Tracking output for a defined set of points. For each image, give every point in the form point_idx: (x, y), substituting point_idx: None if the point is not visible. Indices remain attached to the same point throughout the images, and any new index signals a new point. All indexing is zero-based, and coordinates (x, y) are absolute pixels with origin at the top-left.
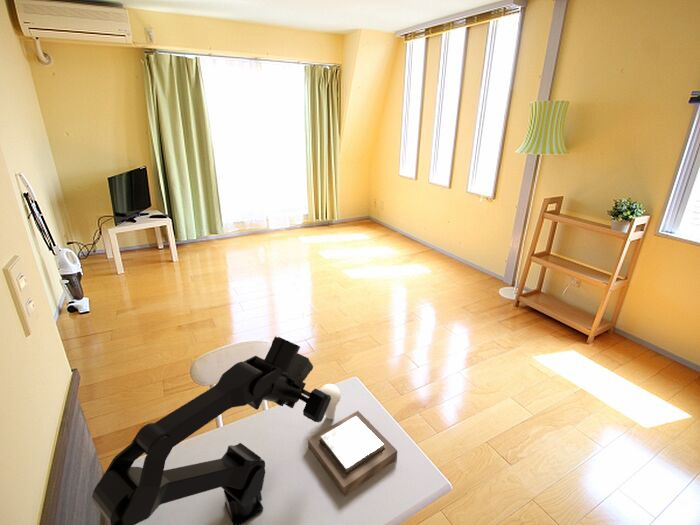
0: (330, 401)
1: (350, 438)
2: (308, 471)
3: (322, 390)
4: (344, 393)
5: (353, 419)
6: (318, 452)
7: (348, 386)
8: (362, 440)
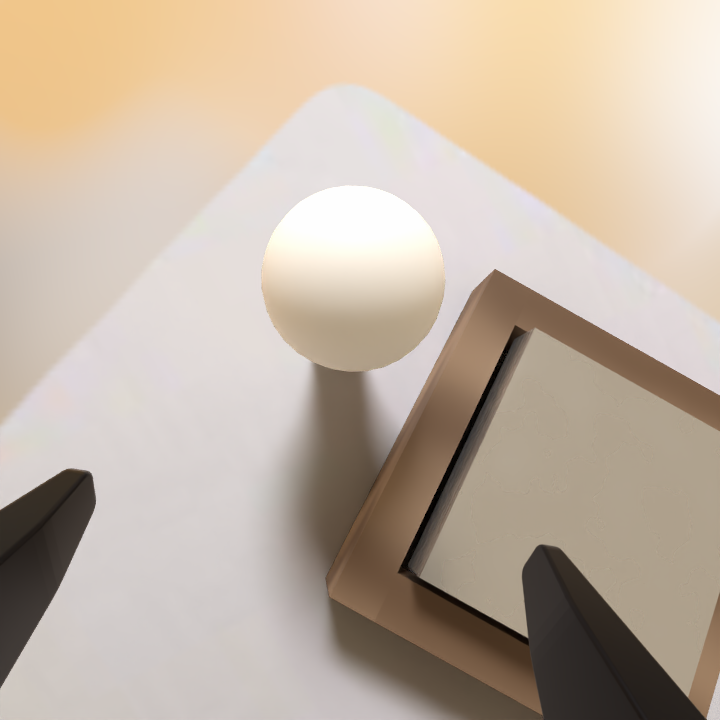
0: (408, 349)
1: (589, 501)
2: (404, 714)
3: (315, 294)
4: (325, 157)
5: (535, 360)
6: (442, 654)
7: (322, 105)
8: (654, 482)
